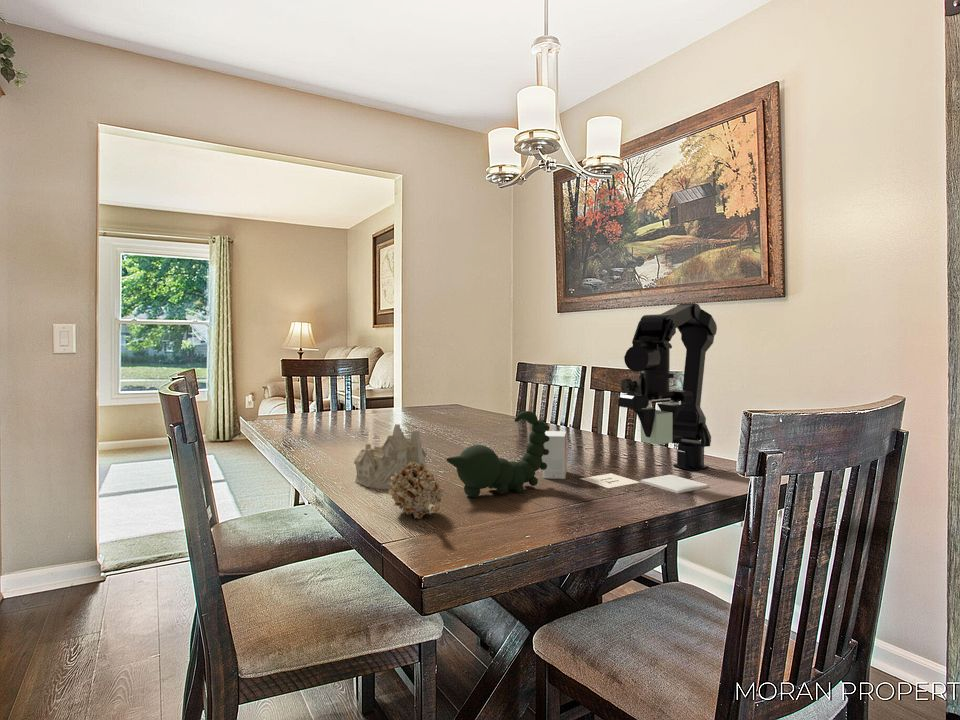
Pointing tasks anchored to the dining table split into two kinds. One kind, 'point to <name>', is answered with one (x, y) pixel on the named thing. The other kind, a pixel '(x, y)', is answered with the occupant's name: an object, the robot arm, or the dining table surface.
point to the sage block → (660, 429)
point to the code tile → (609, 480)
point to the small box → (555, 455)
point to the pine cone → (416, 490)
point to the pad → (674, 483)
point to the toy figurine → (503, 463)
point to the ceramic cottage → (388, 459)
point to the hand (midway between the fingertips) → (656, 435)
